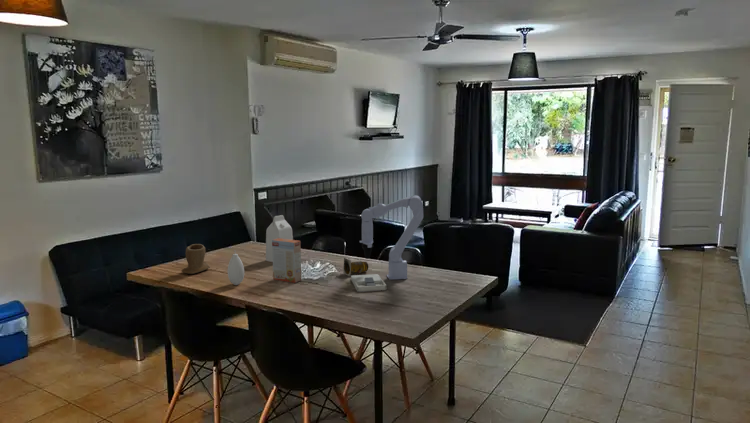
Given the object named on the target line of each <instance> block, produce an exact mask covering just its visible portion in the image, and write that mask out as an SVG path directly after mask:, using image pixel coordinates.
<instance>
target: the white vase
mask: <svg viewBox="0 0 750 423" xmlns="http://www.w3.org/2000/svg"><path fill="white" fill-rule="evenodd" d="M227 276H228V277H227V278H228V281H229V282H230V283H231V284H233V285H234V286H239V285H240V284H241V283H242V282H243V280H244V277H245V266H244V264H243V261H242V260H241V258H240V256H239V255H238V253H237V252H236V251H234V253H233V254H232V255H231V257H230V260H229V262H228V264H227Z"/></svg>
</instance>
